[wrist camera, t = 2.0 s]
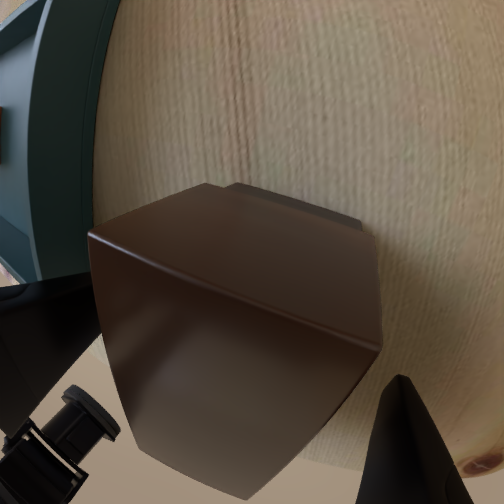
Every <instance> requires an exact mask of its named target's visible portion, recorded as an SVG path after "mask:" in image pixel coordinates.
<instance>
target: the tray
mask: <svg viewBox="0 0 504 504" xmlns="http://www.w3.org/2000/svg"><path fill="white" fill-rule="evenodd" d="M119 1H120V0H27V1H25V2H24V3H23V4H22V5H21V6H20V7H18V8H17V9H16V10H15V11H14V12H13V13H12V14H10V15H9V16H8V17H7V18H6V19H5V20H4V21H3V22H2V23H1V24H0V107H2V113H1V133H0V160H1V164H0V263H1V264H2V265H3V266H4V267H5V268H6V270H7V271H8V272H9V273H10V274H11V275H12V276H13V277H14V278H15V279H16V280H17V281H18V282H19V283H20V284H24V283H31V282H35V281H41V280H46V279H51V278H57V277H62V276H68V275H73V274H78V273H84V272H89V271H91V269H90V260H89V251H88V240H87V233H88V231H89V230H90V229H92V228H93V218H92V157H93V139H94V127H95V117H96V108H97V100H98V92H99V86H100V80H101V74H102V68H103V63H104V58H105V53H106V49H107V44H108V40H109V36H110V32H111V28H112V24H113V21H114V17H115V14H116V11H117V7H118V4H119Z"/></svg>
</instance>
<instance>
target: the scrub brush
mask: <svg viewBox="0 0 504 504" xmlns="http://www.w3.org/2000/svg"><path fill="white" fill-rule="evenodd" d="M87 240H88V251H89V260H90V269H91V276H92V283H93V290H94V296H95V302H96V307H97V313H98V318H99V323H100V327H101V332H102V336H103V341H104V345H105V349H106V353H107V357H108V361H109V364H110V368H111V372H112V375H113V378H114V382H115V385H116V388H117V391H118V394H119V398H120V400H121V403H122V406H123V409H124V412H125V415H126V417H127V420H128V423H129V426H130V428H131V430H132V433H133V436H134V438H135V441H136V443H137V445H138V448H139V449H140V450H141V451H143V452H145V453H146V454H148V455H150V456H151V457H153V458H155V459H157V460H158V461H160V462H162V463H163V464H165V465H167V466H169V467H171V468H173V469H175V470H176V471H179V472H180V473H182V474H184V475H186V476H188V477H190V478H192V479H194V480H197V481H199V482H201V483H203V484H205V485H208V486H210V487H212V488H215V489H217V490H219V491H222V492H224V493H227V494H229V495H232V496H235V497H237V498H240V499H243V500H248V499H249V498H250V497H252V496H253V495H254V494H255V493H256V492H258V491H259V490H260V489H261V488H262V487H264V486H265V485H266V484H267V483H268V482H269V481H270V480H272V479H273V478H274V477H275V476H276V475H277V474H278V473H279V472H280V471H281V470H282V469H283V468H284V467H286V466H287V465H288V464H289V463H290V462H291V461H292V460H293V459H294V458H295V457H296V456H297V455H298V454H299V453H300V452H301V451H302V450H303V449H304V448H305V447H306V446H307V444H308V443H309V442H310V441H311V440H312V439H313V438H314V437H315V436H316V435H317V434H318V433H319V431H320V430H321V429H322V428H323V427H324V426H325V425H326V424H327V422H328V421H329V420H330V419H331V418H332V417H333V415H334V414H335V413H336V412H337V411H338V409H339V408H340V407H341V406H342V404H343V403H344V402H345V401H346V399H347V398H348V397H349V396H350V394H351V393H352V392H353V390H354V389H355V388H356V386H357V385H358V384H359V382H360V381H361V380H362V378H363V377H364V376H365V374H366V373H367V371H368V370H369V368H370V367H371V366H372V364H373V363H374V361H375V360H376V358H377V357H378V355H379V354H380V352H381V351H382V348H383V331H382V310H381V295H380V283H379V273H378V264H377V255H376V247H375V240H374V236H373V235H371V234H368V233H365V232H362V223H361V221H360V220H357V219H354V218H351V217H349V216H346V215H343V214H340V213H337V212H334V211H331V210H328V209H325V208H322V207H319V206H316V205H313V204H309V203H306V202H303V201H300V200H297V199H293V198H290V197H287V196H284V195H280V194H277V193H273V192H270V191H267V190H263V189H260V188H256V187H253V186H249V185H245V184H242V183H234V184H231V185H229V186H227V187H224V188H223V187H219V186H215V185H212V184H208V183H203V184H200V185H197V186H195V187H192V188H189V189H186V190H184V191H181V192H178V193H176V194H173V195H170V196H168V197H165V198H163V199H160V200H158V201H155V202H153V203H150V204H148V205H145V206H143V207H140V208H138V209H136V210H133V211H131V212H128V213H126V214H124V215H121V216H119V217H117V218H114V219H112V220H110V221H108V222H105V223H103V224H101V225H99V226H97V227H94V228H92V229H90V230H89V231H88V233H87Z"/></svg>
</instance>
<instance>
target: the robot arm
mask: <svg viewBox="0 0 504 504" xmlns="http://www.w3.org/2000/svg"><path fill="white" fill-rule="evenodd" d="M101 333H102V332H101V327H100V323H99V318H98V313H97V307H96V302H95V296H94V290H93V283H92V276H91V271H89V272H84V273H78V274H73V275H68V276H62V277H57V278H51V279H46V280H41V281H35V282H31V283H24V284H19V285H13V286H6V287H0V429H1V430H2V431H3V432H4V433H5V434H6V435H7V436H6V437H4V445H3V446H4V447H3V449H2V450H1V451H2V452H3V453H4V454H5V456H4V457H3V458H2V459H1V460H0V504H68V503H69V502H70V501H71V500H72V498H73V497H74V496H75V494H76V493H77V491H78V490H79V489H80V487H81V486H82V485H83V483H84V482H85V480H86V479H87V477H88V476H89V474H88V473H86V472H85V471H84V470H82V469H81V468H79V467H78V466H77V465H78V464H79V463H80V462H81V461H82V460H83V459H84V458H85V457H86V455H87V454H88V453H89V452H90V451H91V450H92V449H93V447H94V446H95V445H96V444H97V443H98V442H99V441H100V439H101V438H102V437H103V438H105V439H108V440H110V441H112V442H114V441H115V438H114V437H113V436H112V435H111V434H110V433H109V432H108V431H107V430H106V429H105V428H104V427H103V426H102V425H101V424H100V423H99V422H98V421H97V420H96V419H95V418H94V417H93V416H92V414H91V413H90V412H89V411H88V410H87V409H86V408H85V407H84V406H83V404H82V403H81V402H80V401H78V400H76V399H73V398H70V397H67V396H64V395H63V396H62V397H61V398H62V399H63V401H64V402H65V403H66V405H65V406H64V407H63V408H62V409H61V410H60V411H59V412H58V413H57V414H56V415H55V416H54V417H53V418H52V419H51V420H50V421H49V422H48V423H47V424H46V425H45V426H44V427H43V428H42V429H41V431H42V432H43V433H42V432H41V431H40V430H39V428H37V426H36V424H35V423H34V422H33V421H32V420H31V419H30V418H29V416H30V415H31V413H32V412H33V411H34V410H35V408H36V407H37V406H38V405H39V404H40V402H41V401H42V400H43V399H44V397H45V396H46V395H47V394H48V392H49V391H50V390H51V389H52V388H53V387H54V385H55V384H56V383H57V382H58V381H59V379H60V378H61V377H62V376H63V375H64V374H65V373H66V372H67V370H68V369H69V368H70V367H71V366H72V365H73V364H74V362H75V361H76V360H77V359H78V358H79V357H80V356H81V355H82V353H83V352H84V351H85V350H86V349H87V348H88V347H89V346H90V345H91V344H92V343H93V341H94V340H95V339H96V338H97V337H98V336H99V335H100V334H101ZM32 429H34V431H35V432H36V433H37V434H38V435H39V436H40V437H41V438H42V439H43V440H44V441H45V442H46V443H47V444H48V445H49V446H50V447H51V448H52V449H53V450H54V451H55V452H56V453H57V454H58V455H59V456H60V457H61V458H62V459H64V460H65V461H66V462H67V463H68V464H69V465H70V466H71V467H73V468H74V469H75V470H76V471H77V472H76V473H75V474H74V473H73V472H72V471H71V470H69V468H67V467H66V466H65V465H64V464H63V463H62V462H61V461H60V460H58V459H57V458H56V457H55V456H54V455H53V454H52V453H51V452H50V451H49V450H48V449H47V448H46V447H45V446H44V445H43V444H42V443H41V442H40V441H39V440H38V439H37V438H36V437H35V436H34V434H32V432H31V430H32ZM25 436H27V437H28V438H29V440H26V439H24V437H25ZM71 460H72V461H73V462H74V463H73V462H72V461H71ZM355 504H474V503H473V501H472V499H471V497H470V495H469V493H468V491H467V489H466V487H465V485H464V483H463V481H462V479H461V477H460V475H459V473H458V470H457V468H456V466H455V465H454V462H453V460H452V458H451V455H450V453H449V451H448V449H447V447H446V445H445V443H444V441H443V439H442V437H441V435H440V433H439V431H438V429H437V427H436V425H435V423H434V421H433V419H432V418H431V416H430V414H429V412H428V410H427V408H426V406H425V405H424V403H423V401H422V399H421V397H420V395H419V394H418V392H417V390H416V388H415V386H414V385H413V383H412V381H411V379H410V378H409V377H408V376H404V375H401V374H397V375H395V376H394V378H393V379H392V380H391V381H390V382H389V384H388V385H387V386H386V387H385V389H384V390H383V392H382V394H381V397H380V401H379V405H378V409H377V413H376V417H375V421H374V425H373V428H372V432H371V436H370V440H369V446H368V451H367V456H366V461H365V466H364V471H363V475H362V480H361V484H360V488H359V492H358V496H357V499H356V503H355Z"/></svg>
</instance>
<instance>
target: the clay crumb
mask: <svg viewBox="0 0 504 504" xmlns="http://www.w3.org/2000/svg"><path fill="white" fill-rule="evenodd" d="M1 113H2V107H0V133H1ZM0 164H1V160H0Z"/></svg>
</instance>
